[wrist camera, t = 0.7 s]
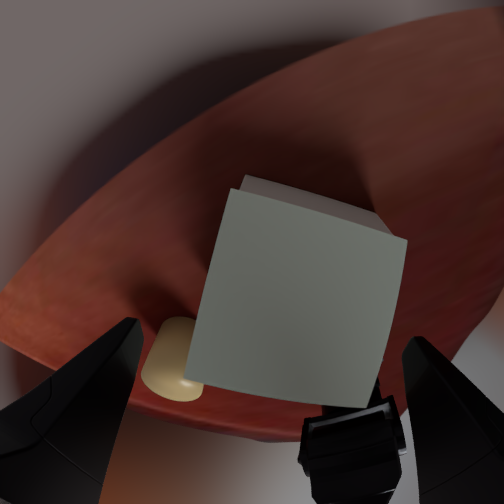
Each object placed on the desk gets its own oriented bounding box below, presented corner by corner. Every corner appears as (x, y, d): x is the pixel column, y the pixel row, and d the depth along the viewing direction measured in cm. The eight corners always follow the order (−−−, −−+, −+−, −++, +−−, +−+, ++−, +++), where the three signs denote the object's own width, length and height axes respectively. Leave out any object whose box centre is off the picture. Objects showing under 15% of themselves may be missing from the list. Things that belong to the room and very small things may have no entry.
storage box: (328, 314, 25) (335, 351, 21) (217, 288, 25) (207, 324, 21) (375, 213, 21) (396, 239, 17) (245, 174, 20) (237, 193, 16)
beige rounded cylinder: (209, 360, 30) (198, 406, 24) (159, 346, 29) (142, 390, 24) (217, 325, 27) (205, 375, 22) (161, 309, 27) (140, 356, 21)
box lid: (362, 404, 15) (366, 408, 15) (184, 374, 15) (183, 378, 14) (402, 241, 17) (407, 240, 16) (230, 191, 16) (230, 187, 15)
